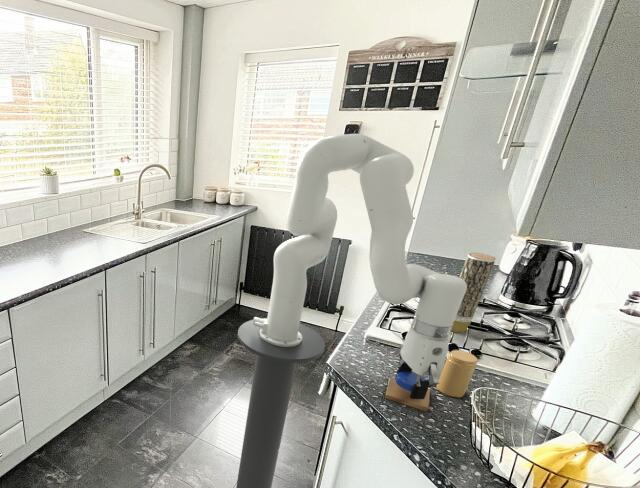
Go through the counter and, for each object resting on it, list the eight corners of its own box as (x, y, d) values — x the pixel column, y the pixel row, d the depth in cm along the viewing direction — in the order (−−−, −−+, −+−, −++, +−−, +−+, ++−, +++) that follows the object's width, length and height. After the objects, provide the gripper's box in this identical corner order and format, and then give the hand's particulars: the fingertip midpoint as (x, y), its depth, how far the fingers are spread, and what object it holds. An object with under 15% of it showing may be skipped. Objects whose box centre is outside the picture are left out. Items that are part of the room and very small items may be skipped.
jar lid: (420, 379, 107) (422, 373, 107) (429, 394, 102) (432, 389, 101) (391, 375, 109) (393, 369, 108) (399, 389, 103) (401, 384, 102)
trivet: (384, 398, 106) (385, 394, 105) (388, 380, 112) (389, 377, 112) (427, 411, 101) (428, 407, 100) (428, 392, 108) (430, 389, 107)
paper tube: (471, 330, 137) (500, 258, 126) (459, 335, 134) (488, 261, 124) (449, 322, 143) (475, 251, 132) (437, 326, 140) (463, 254, 129)
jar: (435, 391, 108) (449, 357, 103) (436, 380, 112) (449, 347, 108) (464, 400, 105) (479, 365, 100) (464, 388, 109) (478, 354, 105)
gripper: (472, 346, 90) (444, 412, 98) (427, 310, 106) (406, 370, 113) (435, 345, 91) (411, 410, 98) (396, 309, 106) (377, 368, 114)
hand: (408, 388), depth 106 cm, fingers closed on jar lid, 6 cm apart
